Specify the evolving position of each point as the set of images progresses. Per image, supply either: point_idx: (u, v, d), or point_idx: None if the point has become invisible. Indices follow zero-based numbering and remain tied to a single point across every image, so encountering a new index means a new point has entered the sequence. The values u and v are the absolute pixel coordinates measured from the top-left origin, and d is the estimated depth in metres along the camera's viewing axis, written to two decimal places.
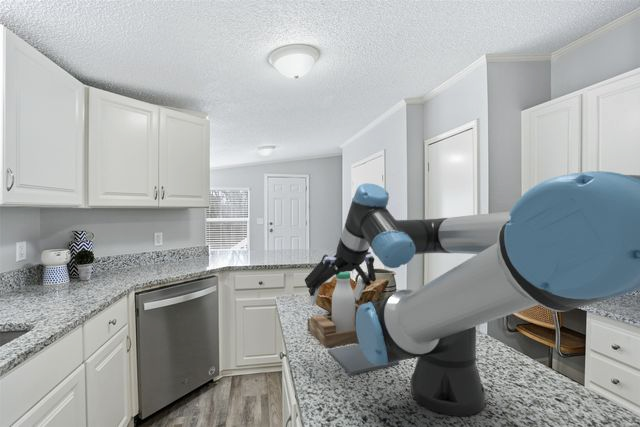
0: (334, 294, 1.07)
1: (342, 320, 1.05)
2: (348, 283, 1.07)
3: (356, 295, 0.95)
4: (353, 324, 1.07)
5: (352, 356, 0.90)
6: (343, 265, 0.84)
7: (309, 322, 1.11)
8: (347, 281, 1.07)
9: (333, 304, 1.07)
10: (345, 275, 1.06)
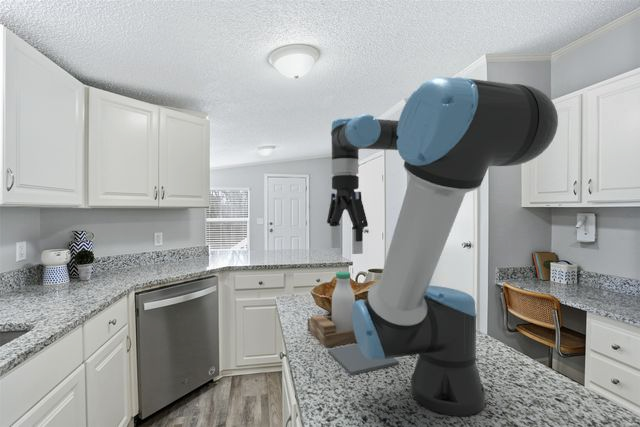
0: (334, 294, 1.07)
1: (342, 320, 1.05)
2: (348, 283, 1.07)
3: None
4: None
5: (352, 356, 0.90)
6: None
7: (309, 322, 1.11)
8: (347, 281, 1.07)
9: (333, 304, 1.07)
10: (345, 275, 1.06)
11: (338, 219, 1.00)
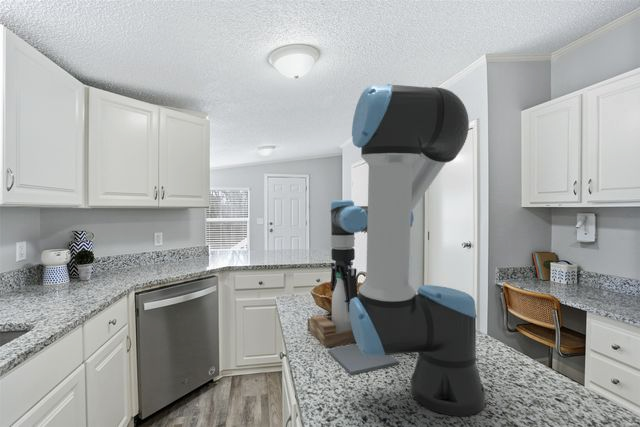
0: (334, 294, 1.07)
1: (342, 320, 1.05)
2: None
3: None
4: None
5: (352, 356, 0.90)
6: None
7: (309, 322, 1.11)
8: None
9: (333, 304, 1.07)
10: None
11: None
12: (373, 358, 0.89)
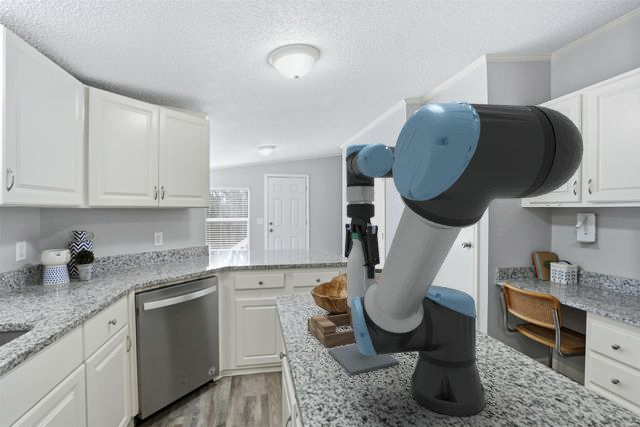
0: (350, 258, 0.89)
1: (360, 289, 0.87)
2: None
3: None
4: None
5: (352, 356, 0.90)
6: None
7: (309, 322, 1.11)
8: None
9: (349, 270, 0.89)
10: None
11: None
12: (373, 358, 0.89)
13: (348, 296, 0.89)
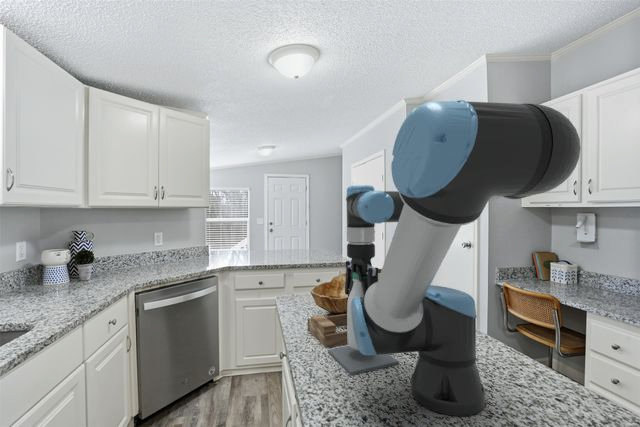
0: (350, 298, 0.89)
1: None
2: None
3: None
4: None
5: (352, 356, 0.90)
6: None
7: (309, 322, 1.11)
8: None
9: (349, 310, 0.89)
10: None
11: None
12: (373, 358, 0.89)
13: (348, 336, 0.90)
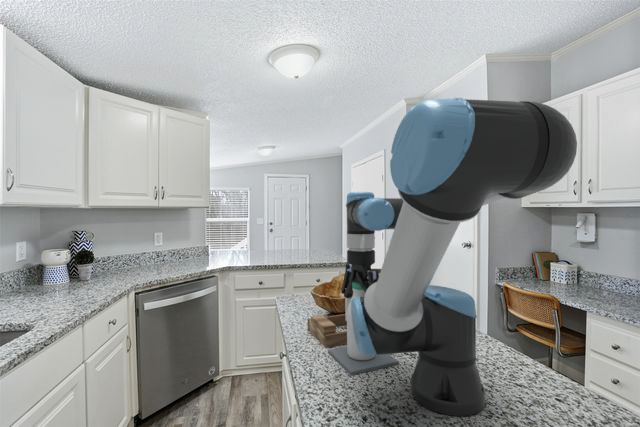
0: (350, 308, 0.89)
1: None
2: None
3: None
4: None
5: None
6: None
7: (309, 322, 1.11)
8: None
9: (349, 320, 0.89)
10: None
11: None
12: (373, 358, 0.89)
13: (348, 346, 0.90)
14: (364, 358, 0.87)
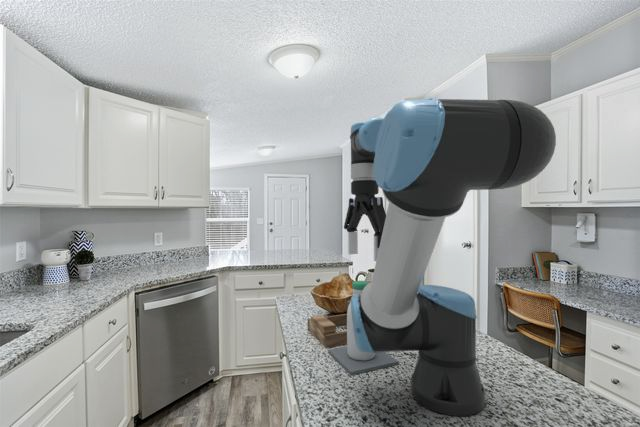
0: (350, 308, 0.89)
1: None
2: None
3: None
4: None
5: None
6: None
7: (309, 322, 1.11)
8: None
9: (349, 320, 0.89)
10: (363, 285, 0.89)
11: (356, 225, 0.98)
12: (373, 358, 0.89)
13: (348, 346, 0.90)
14: (364, 358, 0.87)
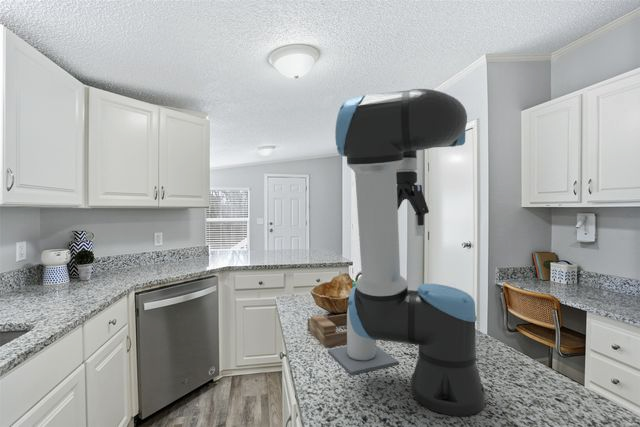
0: None
1: (360, 340, 0.87)
2: None
3: None
4: (373, 344, 0.89)
5: None
6: None
7: (309, 322, 1.11)
8: None
9: (349, 320, 0.89)
10: None
11: None
12: (373, 358, 0.89)
13: (348, 346, 0.90)
14: (364, 358, 0.87)
